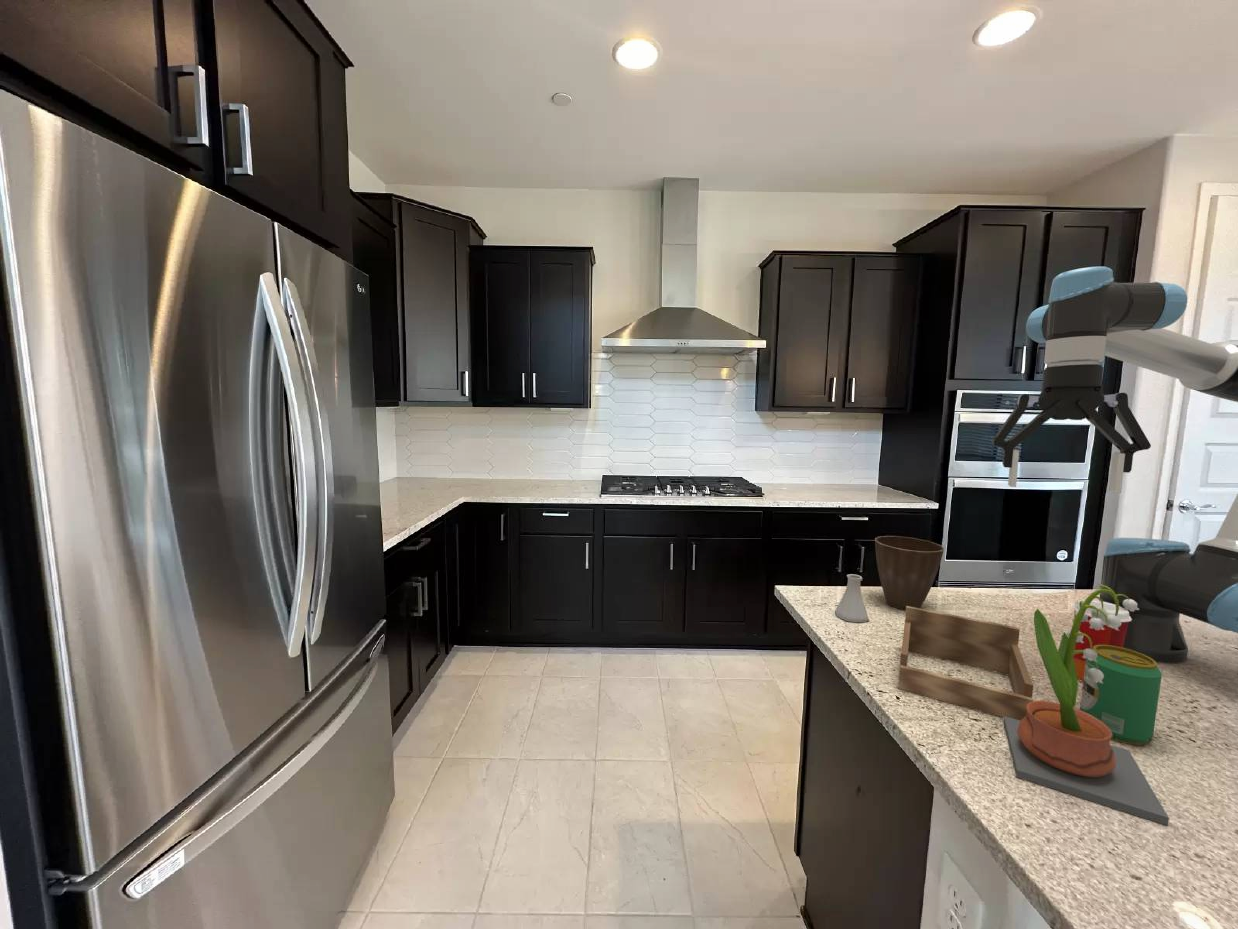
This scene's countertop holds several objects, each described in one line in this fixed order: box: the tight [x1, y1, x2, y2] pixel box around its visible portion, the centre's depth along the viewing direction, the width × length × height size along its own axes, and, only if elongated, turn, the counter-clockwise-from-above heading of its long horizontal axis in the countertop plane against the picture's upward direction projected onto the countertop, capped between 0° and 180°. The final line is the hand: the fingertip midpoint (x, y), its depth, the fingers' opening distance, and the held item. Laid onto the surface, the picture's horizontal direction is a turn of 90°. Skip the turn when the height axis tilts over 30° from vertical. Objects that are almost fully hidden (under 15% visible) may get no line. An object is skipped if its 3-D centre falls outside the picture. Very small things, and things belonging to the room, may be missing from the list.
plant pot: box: [874, 535, 945, 610], centre depth 124 cm, size 15×15×16 cm
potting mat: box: [1002, 716, 1170, 826], centre depth 67 cm, size 14×14×1 cm
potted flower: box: [1017, 583, 1139, 777], centre depth 66 cm, size 12×10×25 cm
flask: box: [834, 573, 870, 624], centre depth 116 cm, size 7×7×10 cm
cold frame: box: [897, 606, 1034, 720], centre depth 88 cm, size 18×18×9 cm
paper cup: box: [1071, 598, 1132, 682], centre depth 90 cm, size 8×8×14 cm
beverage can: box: [1079, 645, 1163, 746], centre depth 75 cm, size 8×8×12 cm
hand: (1061, 488), depth 86 cm, fingers open, 13 cm apart
